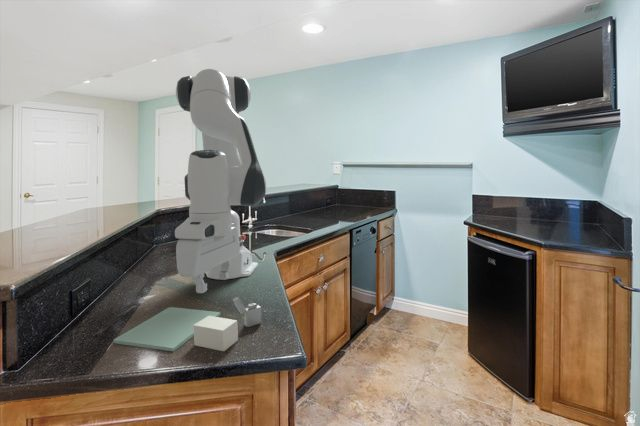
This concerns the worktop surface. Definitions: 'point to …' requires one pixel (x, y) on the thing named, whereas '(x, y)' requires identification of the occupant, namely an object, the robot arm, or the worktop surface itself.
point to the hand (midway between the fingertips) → (213, 285)
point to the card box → (215, 333)
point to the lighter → (249, 312)
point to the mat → (165, 329)
